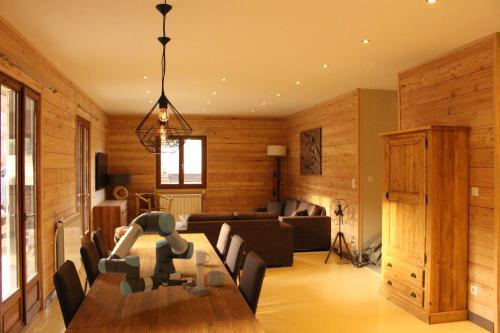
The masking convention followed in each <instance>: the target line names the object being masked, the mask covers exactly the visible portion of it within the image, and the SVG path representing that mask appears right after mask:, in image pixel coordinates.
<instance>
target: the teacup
mask: <svg viewBox="0 0 500 333" xmlns="http://www.w3.org/2000/svg"><path fill="white" fill-rule="evenodd" d="M207 281H208V283H209V285H211V286H212V287H213V286H214V287H220V286H222V285H224V283H225V281H226V271H223V270H211V271H208V272H207Z"/></svg>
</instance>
